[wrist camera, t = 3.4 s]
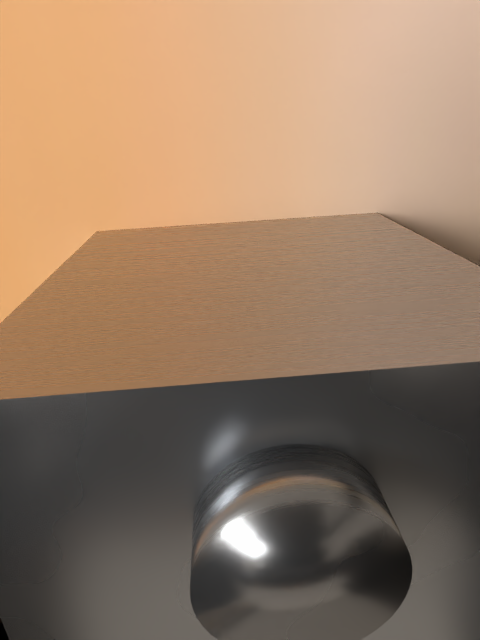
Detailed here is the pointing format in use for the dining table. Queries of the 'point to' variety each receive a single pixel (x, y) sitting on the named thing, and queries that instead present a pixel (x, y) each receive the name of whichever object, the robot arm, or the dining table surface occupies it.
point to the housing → (244, 437)
